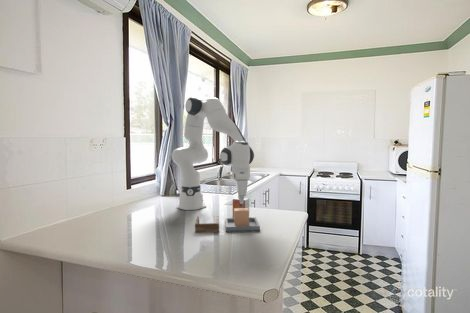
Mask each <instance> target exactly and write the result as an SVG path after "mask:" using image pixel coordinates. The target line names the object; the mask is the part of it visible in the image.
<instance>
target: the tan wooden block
mask: <svg viewBox="0 0 470 313" xmlns="http://www.w3.org/2000/svg"><path fill="white" fill-rule="evenodd" d="M233 218H234V225H235V226H249V218H250V208H249V209H248V208H234V217H233Z"/></svg>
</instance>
